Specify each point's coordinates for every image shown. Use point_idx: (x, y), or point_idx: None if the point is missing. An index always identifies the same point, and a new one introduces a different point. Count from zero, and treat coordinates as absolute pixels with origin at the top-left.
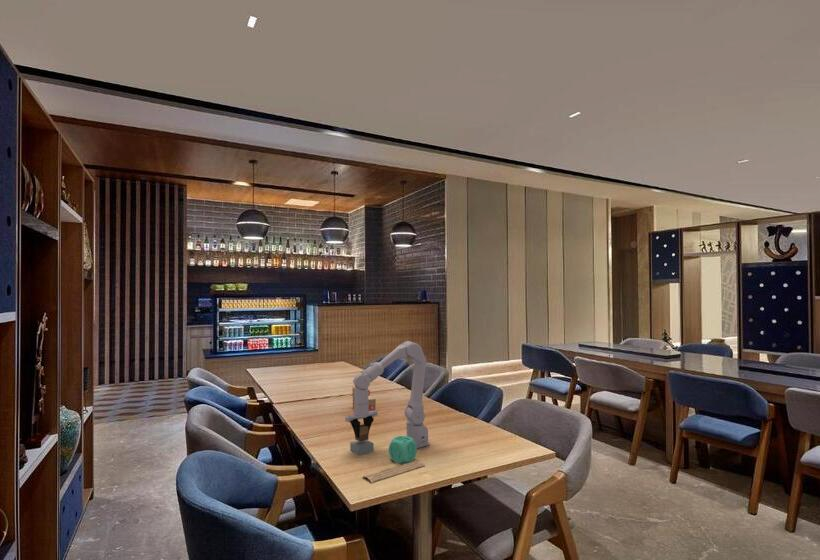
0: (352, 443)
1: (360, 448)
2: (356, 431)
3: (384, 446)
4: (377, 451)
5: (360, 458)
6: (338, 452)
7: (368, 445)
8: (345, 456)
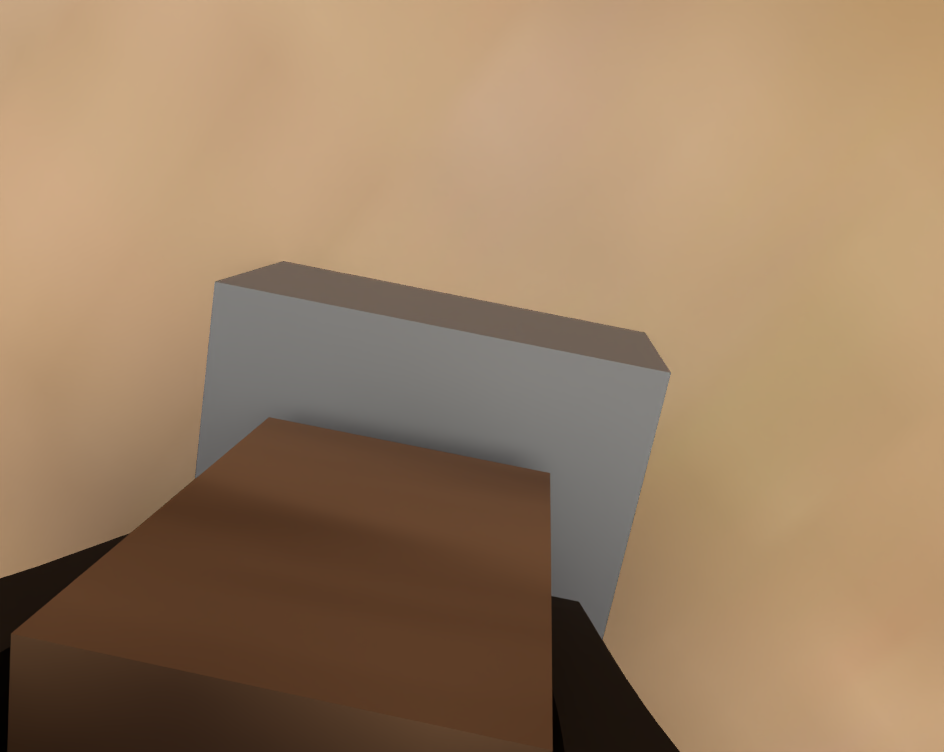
0: (205, 391)
1: None
2: None
3: (894, 664)
4: None
5: None
6: (28, 171)
7: None
8: (19, 449)
